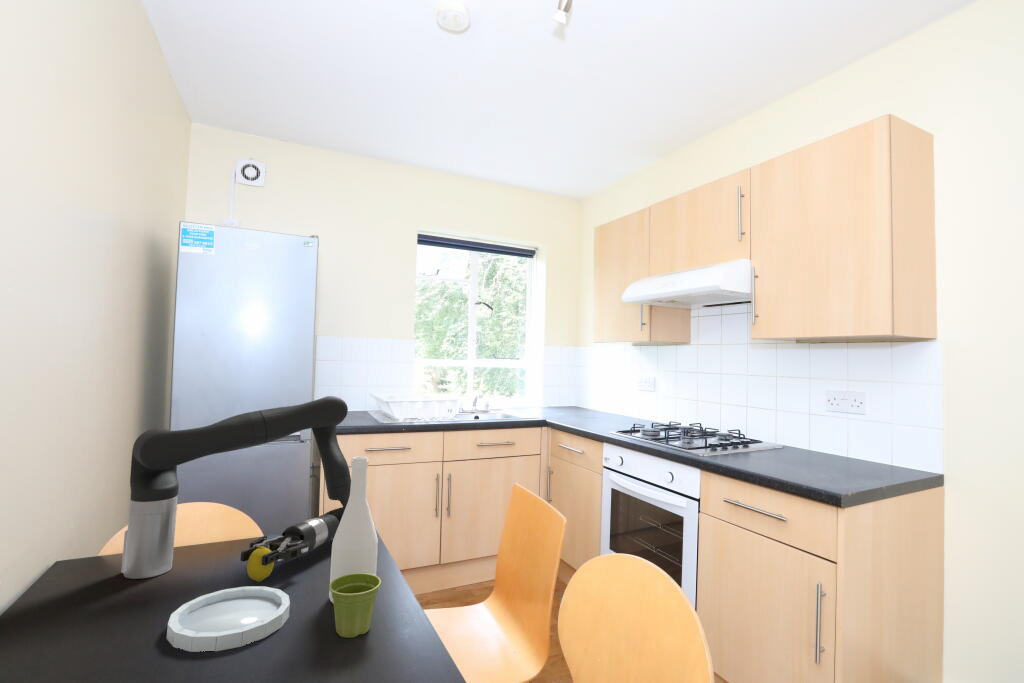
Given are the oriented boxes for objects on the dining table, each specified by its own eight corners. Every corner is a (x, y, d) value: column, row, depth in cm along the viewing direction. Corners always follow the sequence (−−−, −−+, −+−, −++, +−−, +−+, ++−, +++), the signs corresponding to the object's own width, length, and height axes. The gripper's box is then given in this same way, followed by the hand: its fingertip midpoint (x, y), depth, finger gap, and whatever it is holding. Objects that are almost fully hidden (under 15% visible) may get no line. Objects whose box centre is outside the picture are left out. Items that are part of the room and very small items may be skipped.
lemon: (261, 588, 108) (264, 551, 109) (240, 585, 109) (242, 549, 110) (278, 578, 113) (280, 543, 114) (257, 576, 115) (259, 541, 115)
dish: (140, 638, 87) (141, 623, 87) (234, 592, 106) (235, 580, 106) (227, 661, 81) (228, 645, 81) (310, 608, 100) (311, 595, 100)
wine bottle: (370, 586, 111) (378, 453, 114) (378, 604, 103) (386, 460, 105) (326, 592, 107) (335, 454, 109) (330, 612, 99) (340, 462, 101)
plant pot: (369, 644, 87) (372, 594, 88) (318, 642, 88) (321, 592, 88) (384, 619, 97) (386, 574, 97) (337, 616, 97) (340, 572, 98)
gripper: (283, 518, 128) (228, 537, 112) (329, 525, 123) (279, 546, 107) (281, 547, 127) (226, 571, 111) (327, 555, 123) (277, 581, 107)
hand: (252, 558), depth 109 cm, fingers closed on lemon, 5 cm apart
